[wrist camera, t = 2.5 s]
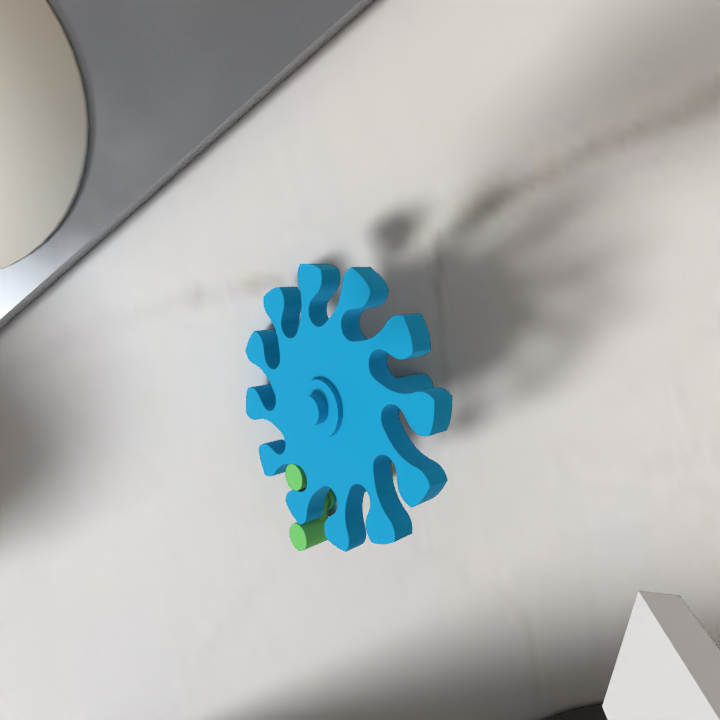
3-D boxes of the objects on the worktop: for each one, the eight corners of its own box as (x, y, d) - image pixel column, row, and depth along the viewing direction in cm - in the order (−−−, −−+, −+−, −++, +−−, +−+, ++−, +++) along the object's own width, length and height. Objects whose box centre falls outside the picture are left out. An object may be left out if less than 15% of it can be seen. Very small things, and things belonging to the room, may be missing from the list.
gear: (257, 217, 20) (469, 350, 14) (376, 225, 24) (581, 331, 18) (211, 465, 25) (356, 645, 19) (317, 438, 29) (466, 578, 23)
